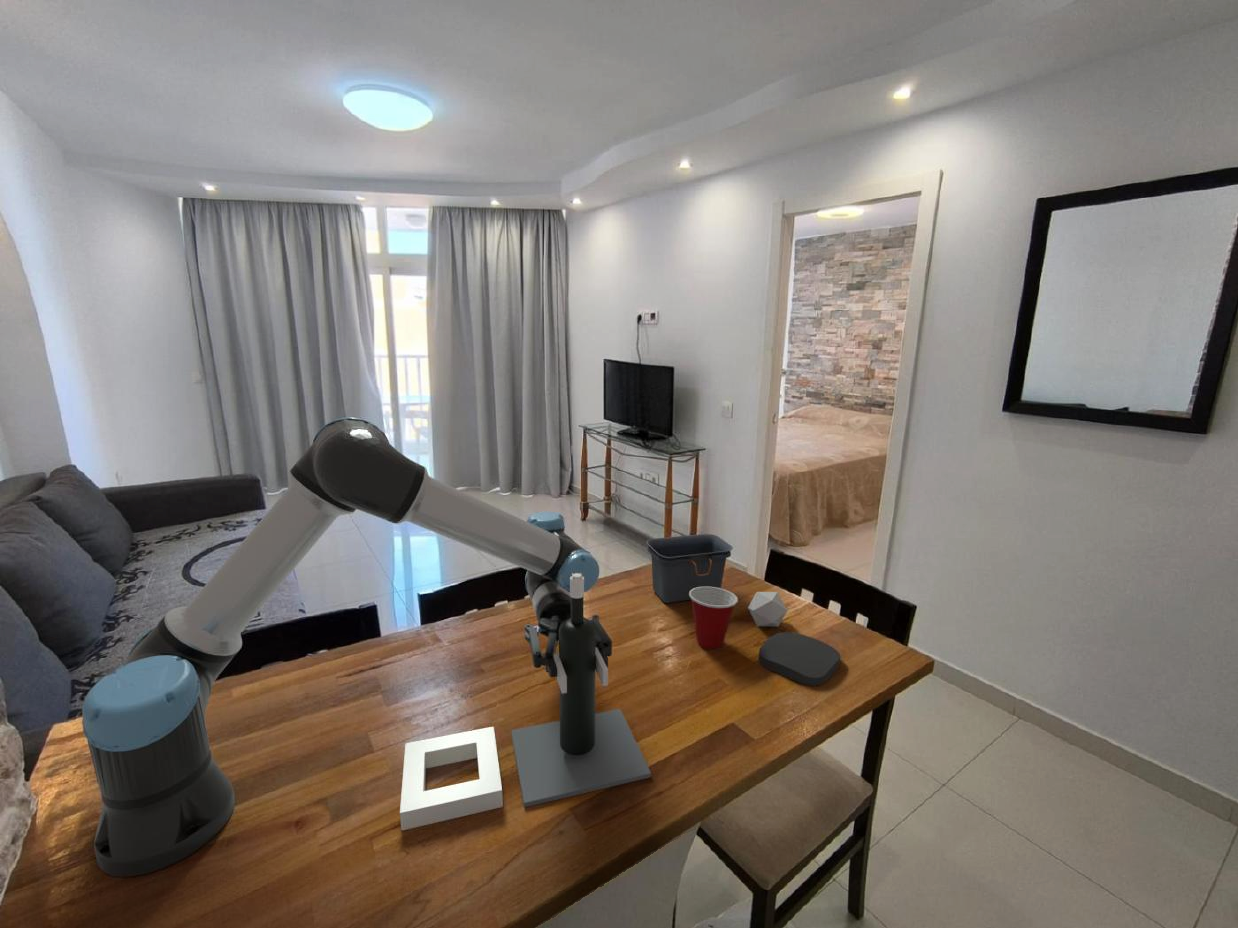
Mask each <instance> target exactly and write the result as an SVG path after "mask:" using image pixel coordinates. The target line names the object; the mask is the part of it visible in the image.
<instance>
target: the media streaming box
mask: <svg viewBox="0 0 1238 928" xmlns="http://www.w3.org/2000/svg"><path fill="white" fill-rule="evenodd" d="M758 662H759V664H760V665H761V666H763V667H764V668H765V669H768V670H770V671H772V672H774V673H776V674H778V675H781V676H783V677H786V678H788V679H790V680H793V681H795V682H798V683H800V684H803V685H806V686H810V687H817V686H822V685H824V684H825V683H826V682H827V681H828V680H829V679H831V677H832V676H833V675H834V673H836V672H837V670H838V668H839V667H840V665H841V653H840V652H839V651H838V650H837V649H836V648H834V647H833V646H831V645H829V644H827V643H825V642H823V641H822V640H819V639H816V638H814V637H811V636H808V635H805V634H800V633H798V632H792V631H791V632H788V631H785V632H784V631H782V632H777V633H775V634H774V635H773V634H772V635H771V636H770V637H769V638H768V639H767V640H765V642H764V643H762V645H761V646H760V647H759V650H758Z"/></svg>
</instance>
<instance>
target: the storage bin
mask: <svg viewBox="0 0 1238 928" xmlns="http://www.w3.org/2000/svg"><path fill="white" fill-rule="evenodd" d="M645 542H646V545H647V548H646V550H647V552H649V553H648V554H651V555H650V556H651V575H652V576H651V577H652V590H653V592H655V594H656V595H657V596H658V597H659V599H660V600H662V602H664V603H666V604H670V603H676V602H684V601H689V600H690V601H691V598H690V596H689V592H690V590H692V589H693V588H697V587H708V586H709V587H717V588H721V589H722V584H723V579H724V573H725V566H726V562H727V558H730V557H731V556H732V555H731V554H732V550H733V549H734V548H733V546H732V545H731V544H729V543H728V542H727V541H726V540H724V539H723V538H721V537H720V536H718V535H716V534H710V533H702V534H700V533H699V534H691V535H689V534H688V535H679V536H678V535H676V536H668V537H657V538H650V539H648V540H646V541H645Z"/></svg>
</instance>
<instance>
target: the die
mask: <svg viewBox="0 0 1238 928" xmlns="http://www.w3.org/2000/svg"><path fill="white" fill-rule="evenodd" d="M747 609H748V611H749V612H750V615H751V617H752V618H753V621H754V623H755V625H756V626H757V627H758V628H759V627H760V628H761V627H768V628H770V627H773V628H774V627H775V628H776V627H779V626H780V624H781V623H782V621H783V619H784V617H785V616H786V614H787V612H788V609H787V607H786V605H785V603H784V601H783V599H782V598H781V596H780V594H779V592H777V591H756V592H755V594H754V596H753V598H752V599H751V601H750V603H749V605H748V607H747Z"/></svg>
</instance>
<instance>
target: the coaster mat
mask: <svg viewBox="0 0 1238 928" xmlns="http://www.w3.org/2000/svg"><path fill="white" fill-rule="evenodd" d="M510 736H511V742H512V747H513V753H514V758H515V763H516V770H517V775H518V781H519V786H520V793H521V796H522V797H521V798H522V804H523V808H528V807H531V806H536V805H540V804H544V803H549V802H552V801H558V800H562V799H565V798H569V797H574V796H579V795H582V794H585V793H590V792H594V791H600V790H603V789H608V788H612V787H615V786H616V787H617V786H619V785H620V786H621V785H624V784H628V783H632V782H637V781H641V780H645V779H646V780H647V779H650V778H652V772H651V770H650V768H649V766H648V763H647V762H646V760H645V757H644V755H643V753H642V751H641V749H640V747H639V744H638V743H637V741H636V739H635V736H634V735H633V732H632V730H631V728H630V726H629V724H628V721H627V720H626V718H625V715H624V713H623V711H622V709H621V708H618V709H617V708H616V709H613V710H612V709H611V710H608V711H602V712H601V711H600V712H598V713H596V712H595V745H594V747H593V748H592V750H591V751H589V752H588V753H586V754H583V755H570V754H567V753H566V752H564V751H563V750H562V748H561V746H560V720H557V721H552V722H546V723H540V724H536V725H530V726H526V727H522V728H516V729H511V730H510Z"/></svg>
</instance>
